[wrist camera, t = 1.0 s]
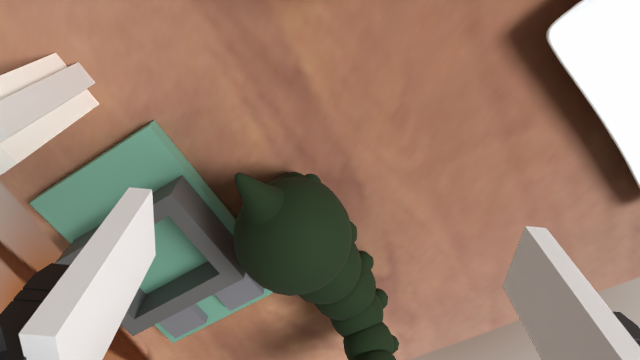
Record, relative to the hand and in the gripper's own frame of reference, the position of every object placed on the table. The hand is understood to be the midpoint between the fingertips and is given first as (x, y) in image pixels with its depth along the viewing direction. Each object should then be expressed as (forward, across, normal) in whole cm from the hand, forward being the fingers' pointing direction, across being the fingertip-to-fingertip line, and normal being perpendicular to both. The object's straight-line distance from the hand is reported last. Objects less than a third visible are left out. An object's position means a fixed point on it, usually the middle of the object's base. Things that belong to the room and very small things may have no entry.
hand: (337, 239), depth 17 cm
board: (+24, -13, -18) cm, 33 cm away
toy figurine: (+24, +2, -16) cm, 29 cm away
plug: (+24, -22, -5) cm, 33 cm away
